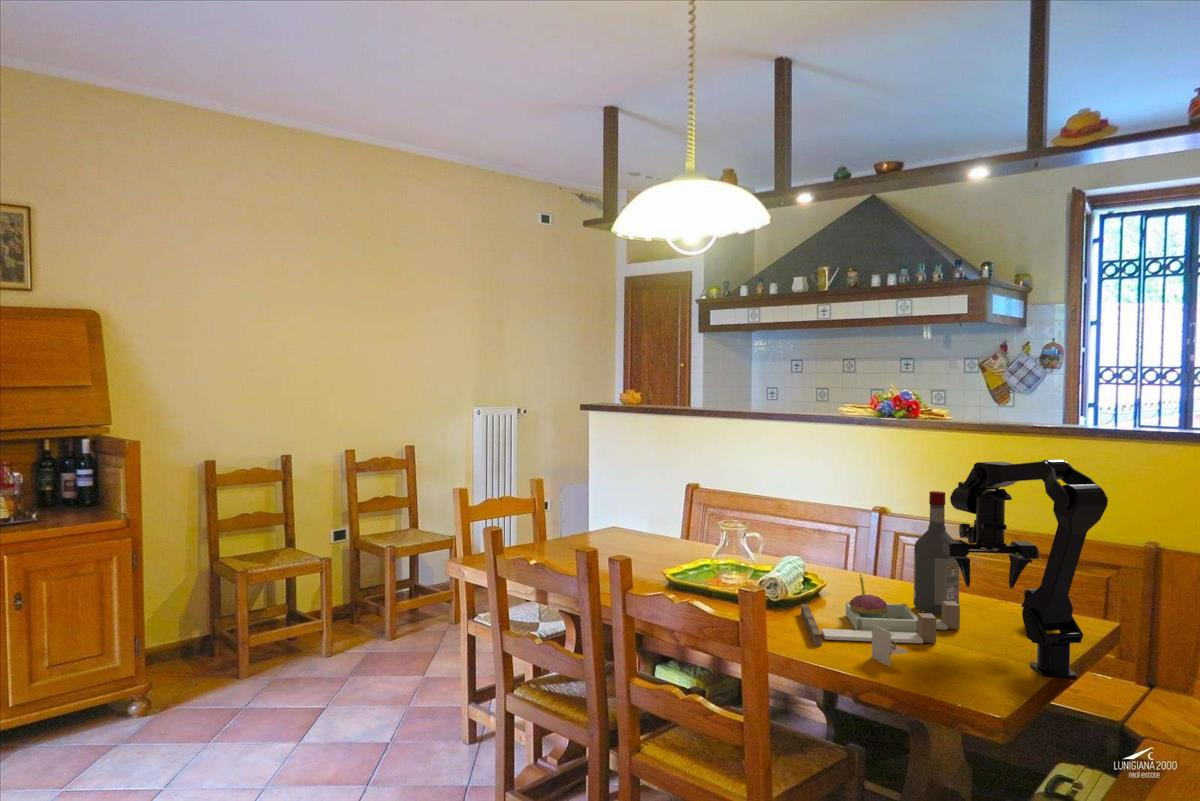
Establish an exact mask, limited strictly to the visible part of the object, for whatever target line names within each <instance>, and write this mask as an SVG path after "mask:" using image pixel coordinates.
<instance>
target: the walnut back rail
mask: <svg viewBox="0 0 1200 801" xmlns="http://www.w3.org/2000/svg"><path fill="white" fill-rule="evenodd" d="M800 614H801V617H802V619H803V622H804V624H805V626H806V629H807V632H808V635H809V636H810V639H811V641H812V643H813V646H814V647H815V646H818V647H821V646H823V634H822V631H821V630H820V628H819V626H818V624H817V621H816V620H815V617H814V615H813V613H812V611H811V608H810V607H809V604H806V603H805V604H800Z"/></svg>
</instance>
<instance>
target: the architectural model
mask: <svg viewBox="0 0 1200 801" xmlns="http://www.w3.org/2000/svg"><path fill="white" fill-rule="evenodd" d="M889 630H890V628H888V629H882V628H880V627H878V626H876V625H873V624H872V641H871V658H872V659H874V660H875V661H877V662H880V663H882V664H883V665H885V666H887V665H888V666H887V667H889V666H890V667H891V656H892V655H899V654H900V655H901V654H907V653H908V650H906V649H905V648H903V647H900V646H899V645H897V643H898V642H895V641H894V642H893V641H892V640H891V636H892V635H891V632H888V631H889ZM891 641H892V642H891Z"/></svg>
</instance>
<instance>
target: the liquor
mask: <svg viewBox="0 0 1200 801" xmlns="http://www.w3.org/2000/svg"><path fill="white" fill-rule="evenodd" d="M928 499H929V501H928V502H929V525H928V527H927V528H928V529H927V530H926V531H925V532H924V533H923V534H922V535H921V536H920V537H919V538H918V539H917V540H916V541H915V543H914V545H913V546H914V547H913V551H914V552H913V554H914V555H913V605H914V606H915V609H916V611H917V610H920V611H919V612H921V611H924V612H927V613H932V614H933V615H934V616H936V615H942V601H955V602H956V603H957V604H959V605H960V567H959V565H958V563H957V561H956V560H955V559H954V558H952V557H951V556H949V555H948V554H946V553H945V552H943V542H944V541H945V540H946V539H950V540H954V539H953V538H952V537H951V535H950V534H949V533H948V531H946V526H945V525H946V524H945V523H946V522H945V516H946V515H945V514H946V513H945V511H946V510H945V506H946V492H945V491H939V490H938V491H935V490H933V491H929V498H928ZM924 612H923V613H924Z"/></svg>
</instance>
